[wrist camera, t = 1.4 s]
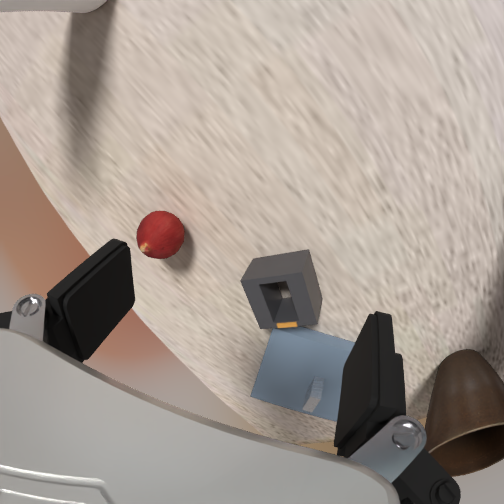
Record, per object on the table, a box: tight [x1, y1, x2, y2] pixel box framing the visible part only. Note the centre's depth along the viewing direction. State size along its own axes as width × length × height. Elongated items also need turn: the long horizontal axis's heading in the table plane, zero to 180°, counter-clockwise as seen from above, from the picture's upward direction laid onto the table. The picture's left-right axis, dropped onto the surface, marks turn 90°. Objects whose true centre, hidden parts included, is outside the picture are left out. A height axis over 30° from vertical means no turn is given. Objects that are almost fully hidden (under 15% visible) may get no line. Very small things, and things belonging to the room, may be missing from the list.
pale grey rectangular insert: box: [302, 376, 325, 412], centre depth 44 cm, size 2×4×4 cm, turn 169°
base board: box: [251, 326, 355, 422], centre depth 46 cm, size 18×18×2 cm
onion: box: [137, 211, 185, 259], centre depth 38 cm, size 6×6×8 cm
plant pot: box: [424, 349, 504, 477], centre depth 32 cm, size 15×15×16 cm
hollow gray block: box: [241, 249, 322, 329], centre depth 38 cm, size 7×7×5 cm
